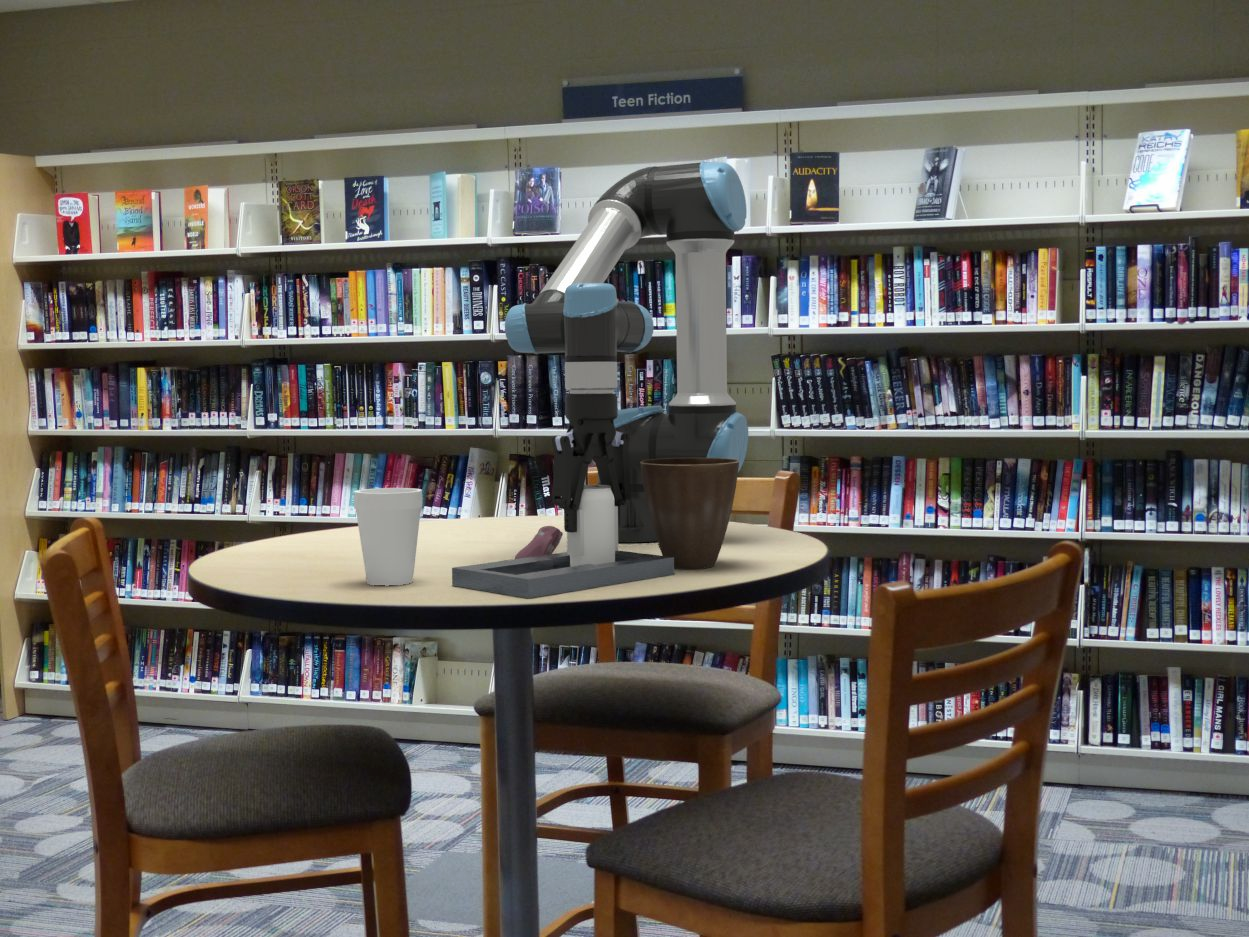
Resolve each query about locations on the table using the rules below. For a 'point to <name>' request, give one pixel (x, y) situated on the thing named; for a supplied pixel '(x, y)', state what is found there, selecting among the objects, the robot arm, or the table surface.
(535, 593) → the keyhole plate
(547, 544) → the video game controller
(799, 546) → the table surface
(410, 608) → the table surface
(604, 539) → the can
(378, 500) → the foam cup
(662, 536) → the plant pot
